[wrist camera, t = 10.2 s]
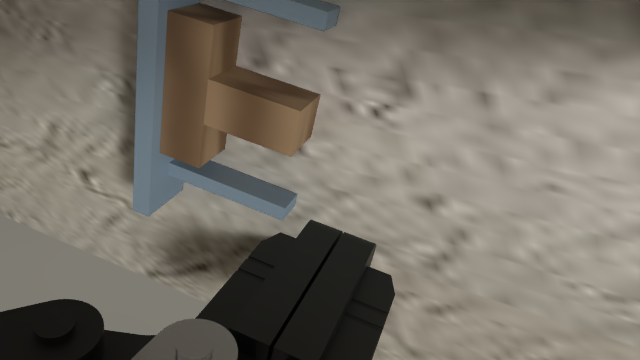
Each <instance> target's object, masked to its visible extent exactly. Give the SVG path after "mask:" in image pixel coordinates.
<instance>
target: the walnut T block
mask: <svg viewBox="0 0 640 360" xmlns="http://www.w3.org/2000/svg"><path fill="white" fill-rule="evenodd" d="M241 21H242V16H240V15H236V14H233V13H230V12H227V11H224V10H221V9H217V8H214V7H211V6H208V5H205V4H202V3H197V4H193V5H188V6H184V7H180V8H176V9H171V10H168V13H167V31H166V49H165V67H164V85H163V103H162V121H161V139H160V153H161V154H164V155H166V156H169V157H171V158H174V159H177V160H179V161H182V162H184V163H187V164H189V165H192V166H195V167H197V168H200V167H201V166H203V165H204V164H205V163H207V162H208V161H209V160H211V159H212V158H213V157H215V156H216V155H217V154H219V153H220V152H221V151H223V150H224V149H225V143H226V136H227V133H228V134H231V135H234V136H236V137H239V138H242V139H244V140H247V141H250V142H253V143H255V144H258V145H261V146H263V147H266V148H269V149H272V150H274V151H277V152H280V153H282V154H285V155H288V156H292V155H293V154H294V153H295V152H296V151H297V150H298V149H299V148H300V147H301V146H302V145H303V144H304V143H305V142H306V141H307V140H308V139H309V138H310V137H311V134H312V130H313V125H314V121H315V116H316V112H317V108H318V103H319V99H320V94H317V93H314V92H311V91H309V90H306V89H303V88H300V87H297V86H294V85H291V84H288V83H285V82H282V81H279V80H276V79H273V78H270V77H267V76H264V75H261V74H258V73H255V72H252V71H249V70H246V69H244V68H241V67H238V66H236V59H237V51H238V44H239V36H240V28H241Z"/></svg>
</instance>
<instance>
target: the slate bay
mask: <svg viewBox="0 0 640 360" xmlns="http://www.w3.org/2000/svg"><path fill="white" fill-rule="evenodd" d="M227 1H230V2H233V3H236V4H239V5H242V6H246V7H249V8H252V9H255V10H258V11H261V12H265V13H268V14H271V15H274V16H277V17H281V18H284V19H287V20H290V21H293V22H296V23H300V24H303V25H306V26H309V27H312V28H315V29H319V30H322V31H325V30H327V29H329V28H331V27H333V26H335V25H336V23H337V18H338V14H339V10H340V7H339V6H335V5H332V4H329V3H325V2H322V1H319V0H227ZM197 3H199V0H138V35H137V72H136V109H135V146H134V183H133V210H134V211H136V212H138V213H141V214H143V215H146V216H148V217H149V216H150V215H151V214H152V213H154V212H155V211H156V210H158V209H159V208H160V207H161V206H163V205H164V204H165V203H166V202H168V201H169V200H170V199H171V198H173V197H174V196H175V195H177V194H178V193H179V192H180V191H182V190H183V181H184V182H187V183H189V184H192V185H194V186H197V187H199V188H202V189H204V190H207V191H209V192H212V193H214V194H217V195H219V196H222V197H225V198H227V199H230V200H232V201H235V202H237V203H240V204H242V205H245V206H247V207H250V208H252V209H255V210H257V211H260V212H262V213H265V214H267V215H270V216H272V217H275V218H277V219H280V220H282V221H283V220H284V218H285V217H286V216H287V215H288V213H289V212H290V211H291V210H292V208H293V207H294V206H295V202H296V197H297V194H296V193H293V192H291V191H288V190H285V189H283V188H280V187H278V186H275V185H272V184H270V183H267V182H265V181H262V180H259V179H257V178H254V177H252V176H249V175H247V174H244V173H241V172H239V171H236V170H234V169H231V168H228V167H226V166H223V165H221V164H218V163H215V162H213V161H210V160H209V161H208V162H207V163H205V164H204V165H203V166H201V167H200V168H197V167H195V166H192V165H189V164H187V163H184V162H182V161H179V160H177V159H174V158H171V157H169V156H166V155H164V154H161V153H160V139H161V121H162V103H163V85H164V67H165V49H166V31H167V13H168V10H171V9H176V8H180V7H184V6H188V5H193V4H197Z"/></svg>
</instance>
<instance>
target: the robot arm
mask: <svg viewBox="0 0 640 360" xmlns="http://www.w3.org/2000/svg"><path fill="white" fill-rule="evenodd" d="M375 248H376V244H375V243H372V242H369V241H367V240H364V239H361V238H359V237H356V236H354V235H351V234H348V233H346V232H344V233H343V232H342V231H340V230H337V229H335V228H332V227H329V226H327V225H324V224H322V223H319V222H316V221H314V220H310V221H309V222H308V223H307V225H306V226H305V227H304V229H303V230H302V231H301V233H300V234H299V235H298V237H297V238H294V237H291V236H289V235H286V234H283V233H281V232H280V233H278V234H276V235H274V236H272V237H270V238H268V239H266V240H264V241H261V243H260V244H259V245H258V246H257V247H256V248H255V250H254V251H253V252H252V253H251V254H250V255H249V258H248V259H246V260H245V261H244V262H243V264H242V265H241V266H240V267H239V269H238V271H236V272H235V273H234V274H233V275H232V276H231V278H230V279H229V280H228V281H227V282H226V283H225V285H224V286H223V287H222V288H221V289H220V290H219V292H218V293H217V294H216V295H215V296H214V297H213V299H212V300H211V301H210V302H209V303H208V304H207V306H206V307H205V308H204V309H203V310H202V311H201V313H200V314H199V315H198V316H197V317H196V318H195V319H187V320H182V321H178V322H175V323H173V324H171V325H169V326H167V327H166V328H164V329H163V330H162V331H160V332H159V333H158V334H157V335H149V336H148V335H137V334H130V333H123V332H115V331H109V330H104V322H103V318H102V316H101V314H100V313H99V311H98V310H97V309H96V308H95V307H93V306H92V305H90V304H88V303H86V302H83V301H79V300H72V299H59V300H52V301H48V302H43V303H39V304H34V305H30V306H26V307H21V308H16V309H12V310H7V311H3V312H0V360H372V358H373V355H374V352H375V349H376V347H377V344H378V341H379V338H380V335H381V333H382V330H383V327H384V324H385V321H386V319H387V316H388V313H389V310H390V307H391V305H392V302H393V299H394V296H395V292H394V287H393V282H392V278H391V275H389V274H386V273H383V272H381V271H378V270H376V269H373V268H371V267H370V265H371V261H372V258H373V255H374V252H375Z"/></svg>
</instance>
